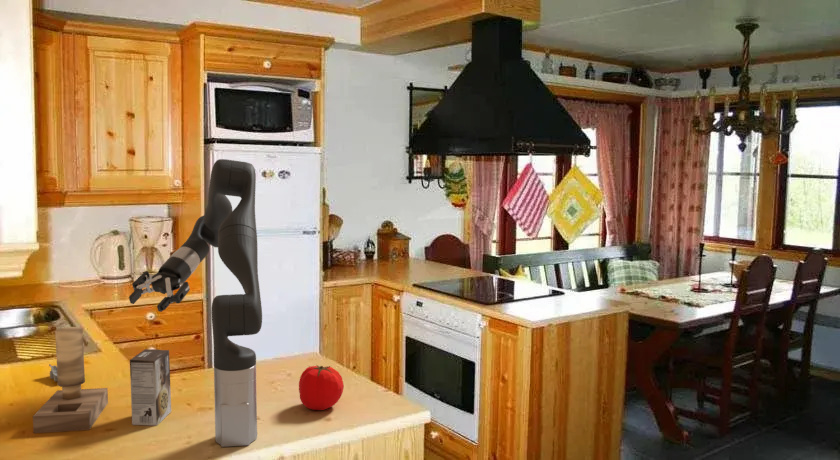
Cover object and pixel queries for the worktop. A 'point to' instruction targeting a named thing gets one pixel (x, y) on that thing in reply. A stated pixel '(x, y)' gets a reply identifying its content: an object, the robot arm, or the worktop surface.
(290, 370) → the worktop surface
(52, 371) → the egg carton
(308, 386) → the tomato
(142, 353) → the coffee box
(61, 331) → the stool leg
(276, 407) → the worktop surface
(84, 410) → the seat board
